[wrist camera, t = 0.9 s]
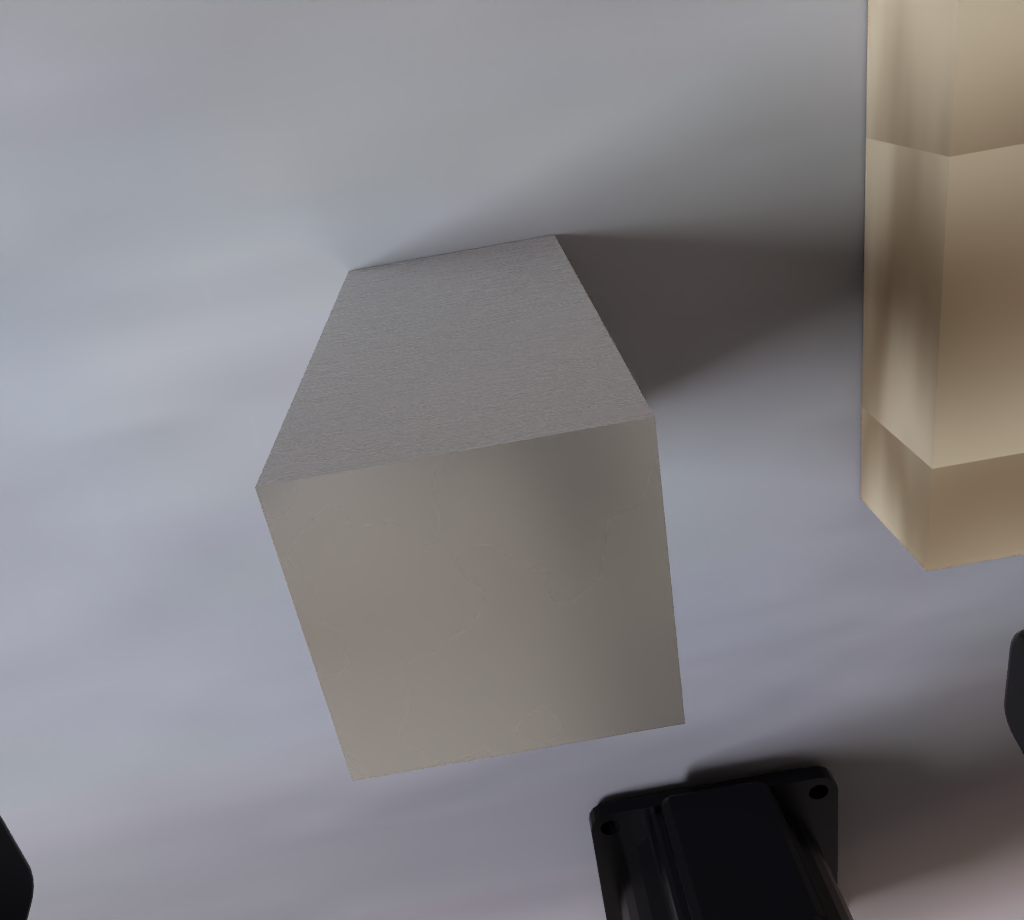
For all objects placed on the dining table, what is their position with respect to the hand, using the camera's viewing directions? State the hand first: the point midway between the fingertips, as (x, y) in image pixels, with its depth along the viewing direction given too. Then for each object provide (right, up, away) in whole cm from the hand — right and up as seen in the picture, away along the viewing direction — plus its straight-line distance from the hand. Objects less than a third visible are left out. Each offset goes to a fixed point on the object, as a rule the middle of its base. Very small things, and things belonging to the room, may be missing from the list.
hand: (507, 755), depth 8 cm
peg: (-1, +5, +10) cm, 11 cm away
